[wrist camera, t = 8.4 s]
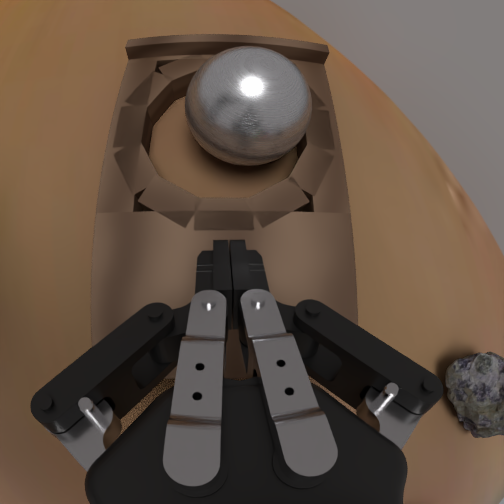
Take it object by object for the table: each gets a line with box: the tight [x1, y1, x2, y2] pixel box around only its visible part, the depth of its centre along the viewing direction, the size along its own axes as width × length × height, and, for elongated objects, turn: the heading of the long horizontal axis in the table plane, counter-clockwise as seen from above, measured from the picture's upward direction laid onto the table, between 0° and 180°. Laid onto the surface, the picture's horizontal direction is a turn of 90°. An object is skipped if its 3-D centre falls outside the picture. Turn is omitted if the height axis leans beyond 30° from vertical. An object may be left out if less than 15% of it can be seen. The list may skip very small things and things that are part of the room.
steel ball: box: [185, 46, 312, 166], centre depth 17 cm, size 8×8×8 cm
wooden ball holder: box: [91, 34, 358, 379], centre depth 19 cm, size 16×24×4 cm, turn 1°
